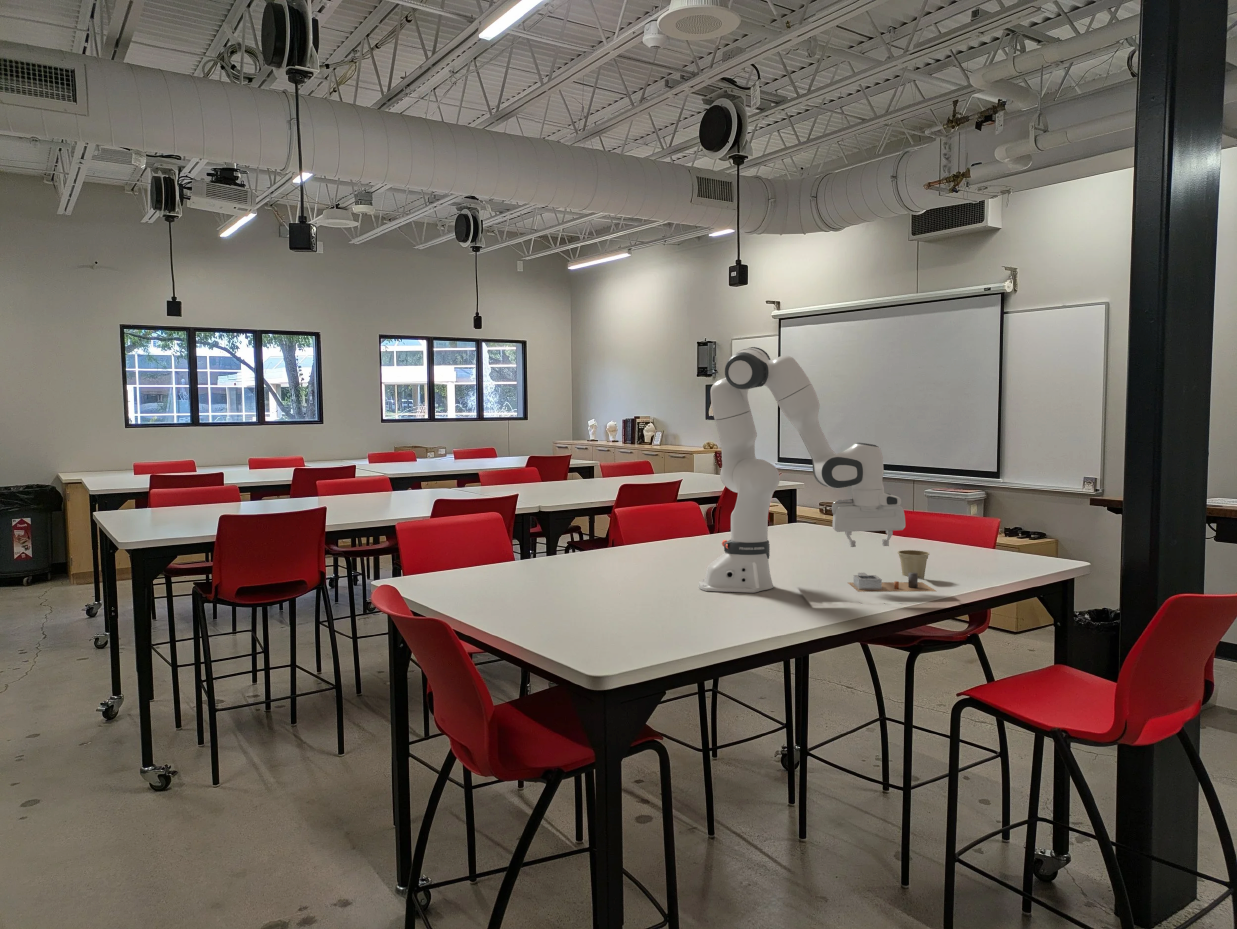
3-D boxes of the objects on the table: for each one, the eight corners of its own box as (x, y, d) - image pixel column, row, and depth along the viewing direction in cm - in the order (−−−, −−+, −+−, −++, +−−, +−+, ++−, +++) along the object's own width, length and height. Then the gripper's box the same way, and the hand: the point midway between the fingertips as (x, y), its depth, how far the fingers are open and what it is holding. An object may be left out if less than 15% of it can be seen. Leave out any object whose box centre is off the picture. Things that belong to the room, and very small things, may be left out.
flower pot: (932, 583, 248) (932, 555, 248) (900, 582, 250) (900, 554, 249) (925, 577, 257) (926, 550, 257) (895, 576, 259) (895, 549, 258)
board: (858, 596, 230) (858, 577, 230) (847, 587, 243) (847, 568, 243) (936, 596, 229) (937, 576, 229) (922, 587, 242) (922, 568, 242)
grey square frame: (881, 589, 232) (881, 579, 232) (858, 589, 232) (858, 579, 232) (872, 582, 242) (872, 572, 242) (850, 582, 243) (850, 572, 243)
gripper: (833, 501, 231) (834, 549, 232) (906, 498, 230) (907, 547, 231) (829, 498, 238) (830, 545, 238) (900, 496, 237) (901, 543, 237)
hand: (869, 546), depth 235 cm, fingers open, 8 cm apart
